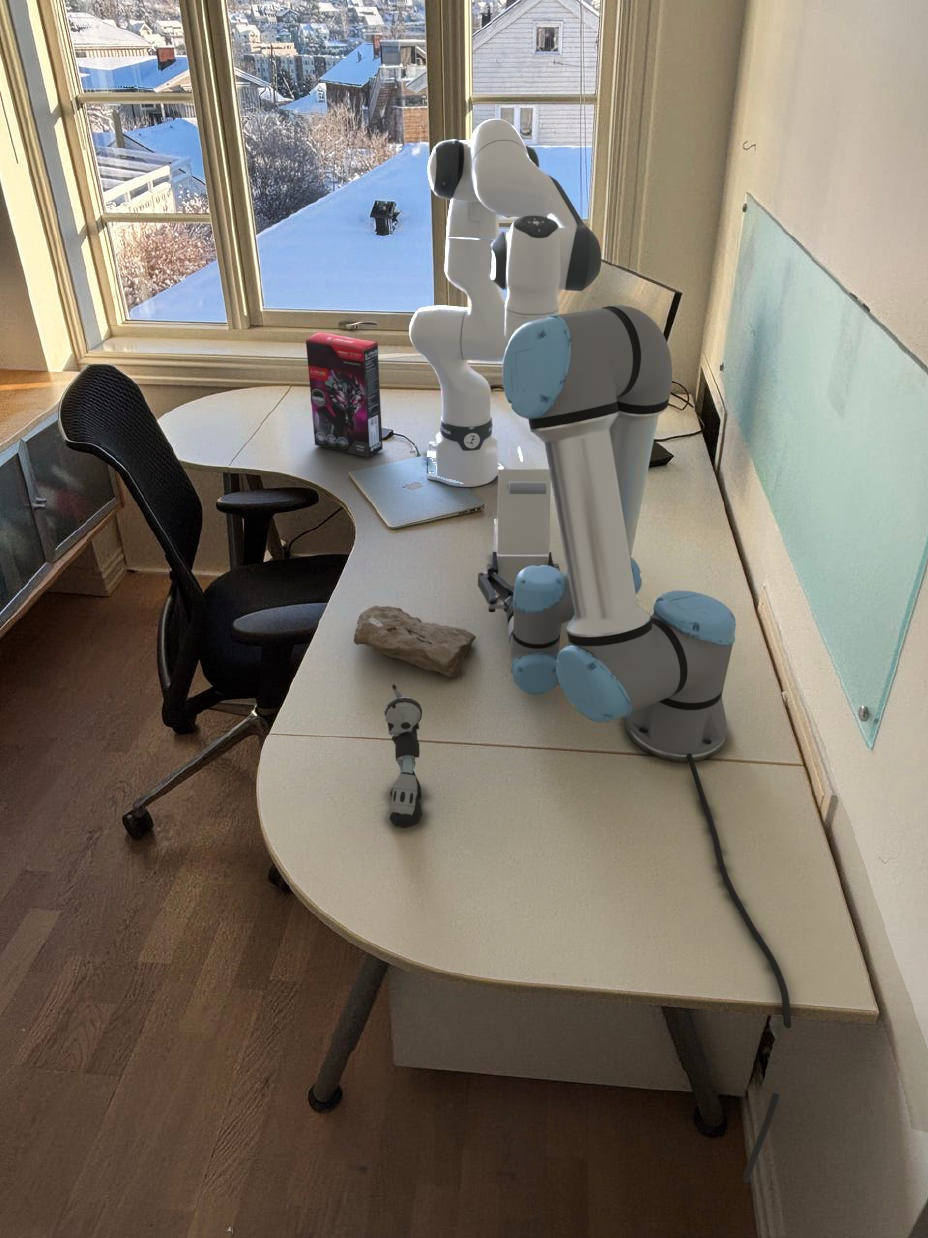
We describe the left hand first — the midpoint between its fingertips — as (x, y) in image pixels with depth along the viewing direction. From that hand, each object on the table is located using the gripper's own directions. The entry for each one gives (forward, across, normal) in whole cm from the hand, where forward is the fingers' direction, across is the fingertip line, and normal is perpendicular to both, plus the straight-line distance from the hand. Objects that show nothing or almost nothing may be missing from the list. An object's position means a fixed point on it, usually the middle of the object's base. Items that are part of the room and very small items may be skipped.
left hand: (527, 404), depth 159 cm
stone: (+35, -24, +21) cm, 48 cm away
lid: (+20, -2, 0) cm, 20 cm away
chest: (+36, +2, 0) cm, 36 cm away
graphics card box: (+37, +63, +39) cm, 83 cm away
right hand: (+29, -2, 0) cm, 29 cm away
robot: (+35, -61, +20) cm, 73 cm away
